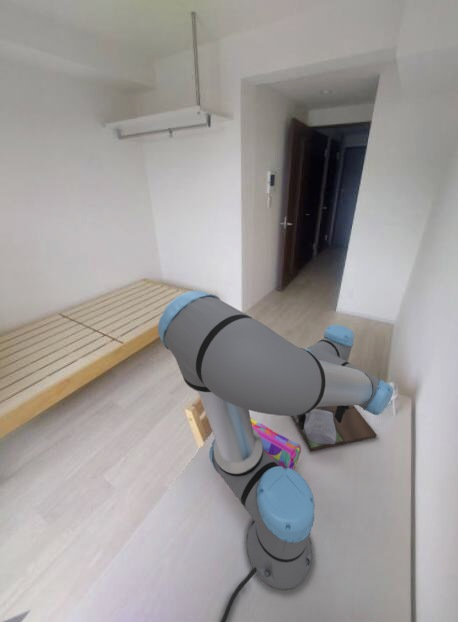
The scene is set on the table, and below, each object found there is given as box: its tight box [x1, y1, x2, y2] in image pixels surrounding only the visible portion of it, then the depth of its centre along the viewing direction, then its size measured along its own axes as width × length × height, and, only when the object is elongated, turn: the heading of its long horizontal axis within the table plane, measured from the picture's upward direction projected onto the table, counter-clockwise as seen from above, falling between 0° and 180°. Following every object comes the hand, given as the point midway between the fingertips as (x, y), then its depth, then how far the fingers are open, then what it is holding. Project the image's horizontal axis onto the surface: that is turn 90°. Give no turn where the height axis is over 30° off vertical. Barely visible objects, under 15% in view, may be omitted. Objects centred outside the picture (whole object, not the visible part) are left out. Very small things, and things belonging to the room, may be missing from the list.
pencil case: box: [250, 417, 302, 470], centre depth 85 cm, size 22×9×9 cm, turn 55°
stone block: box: [304, 409, 336, 444], centre depth 92 cm, size 12×5×10 cm
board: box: [291, 405, 378, 453], centre depth 99 cm, size 24×24×2 cm
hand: (319, 423), depth 90 cm, fingers open, 13 cm apart
